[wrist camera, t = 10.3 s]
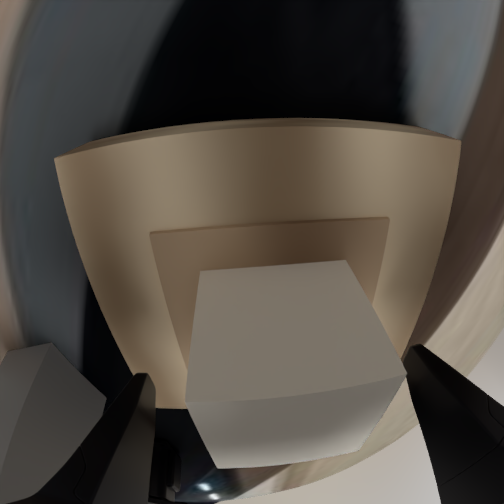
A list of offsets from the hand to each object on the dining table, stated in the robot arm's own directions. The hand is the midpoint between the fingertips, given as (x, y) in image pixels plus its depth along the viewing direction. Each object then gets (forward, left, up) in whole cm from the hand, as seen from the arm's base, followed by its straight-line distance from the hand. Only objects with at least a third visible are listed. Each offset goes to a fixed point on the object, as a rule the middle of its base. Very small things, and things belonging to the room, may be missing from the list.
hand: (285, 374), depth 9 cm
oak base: (0, 0, -6) cm, 6 cm away
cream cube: (0, 0, -3) cm, 3 cm away
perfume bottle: (-17, -9, -6) cm, 20 cm away
